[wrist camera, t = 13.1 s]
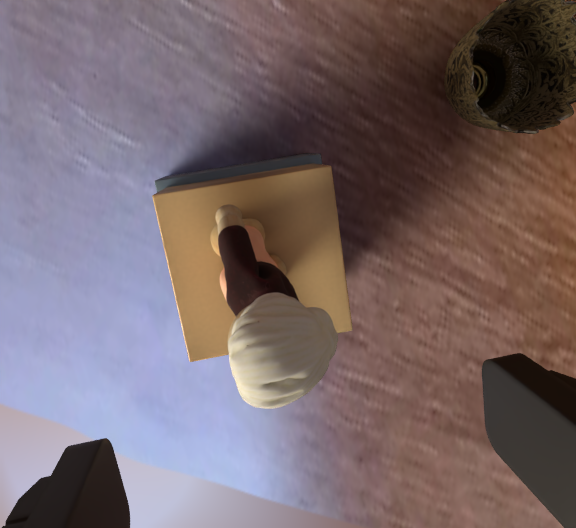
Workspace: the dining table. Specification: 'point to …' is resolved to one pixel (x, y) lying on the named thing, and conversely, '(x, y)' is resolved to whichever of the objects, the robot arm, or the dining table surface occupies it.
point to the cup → (516, 67)
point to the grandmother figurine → (268, 318)
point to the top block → (278, 241)
